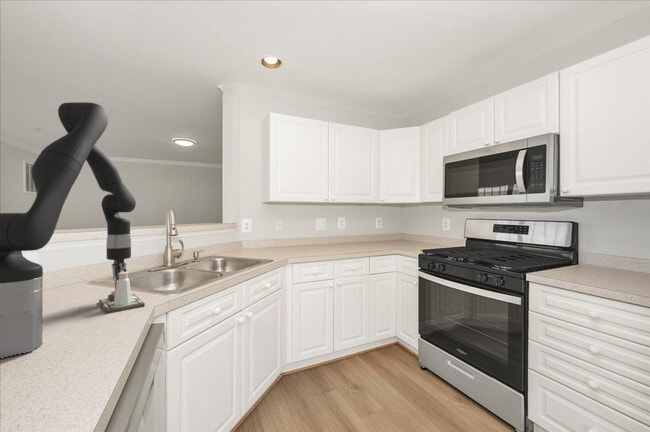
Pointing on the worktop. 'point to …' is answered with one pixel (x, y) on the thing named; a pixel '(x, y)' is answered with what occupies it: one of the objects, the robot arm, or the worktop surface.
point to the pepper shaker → (123, 290)
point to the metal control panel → (111, 307)
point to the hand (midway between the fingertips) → (118, 291)
